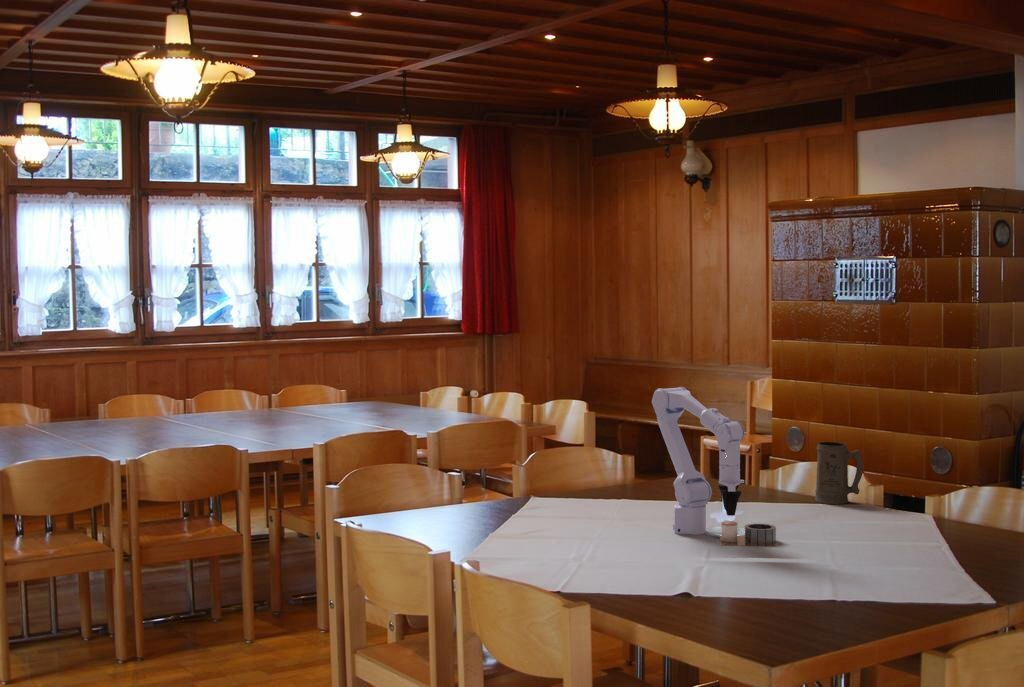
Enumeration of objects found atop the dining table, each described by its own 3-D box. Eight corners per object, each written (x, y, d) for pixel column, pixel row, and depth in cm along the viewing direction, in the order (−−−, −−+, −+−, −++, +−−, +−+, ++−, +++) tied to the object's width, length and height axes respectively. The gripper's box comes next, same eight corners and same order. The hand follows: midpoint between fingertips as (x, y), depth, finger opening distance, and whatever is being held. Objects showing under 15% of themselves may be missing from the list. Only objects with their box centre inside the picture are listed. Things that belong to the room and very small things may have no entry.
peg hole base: (722, 549, 322) (722, 531, 321) (718, 538, 335) (718, 521, 334) (778, 549, 320) (778, 531, 320) (772, 539, 333) (772, 522, 333)
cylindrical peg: (722, 541, 326) (722, 524, 326) (721, 538, 330) (721, 521, 330) (738, 542, 325) (738, 524, 325) (736, 538, 330) (736, 521, 329)
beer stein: (811, 503, 386) (816, 443, 384) (813, 497, 396) (817, 439, 394) (860, 508, 381) (864, 448, 380) (860, 502, 391) (864, 444, 390)
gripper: (746, 468, 319) (746, 517, 320) (741, 460, 333) (741, 507, 334) (720, 468, 320) (720, 517, 320) (716, 460, 334) (716, 507, 335)
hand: (729, 512), depth 327 cm, fingers open, 7 cm apart
